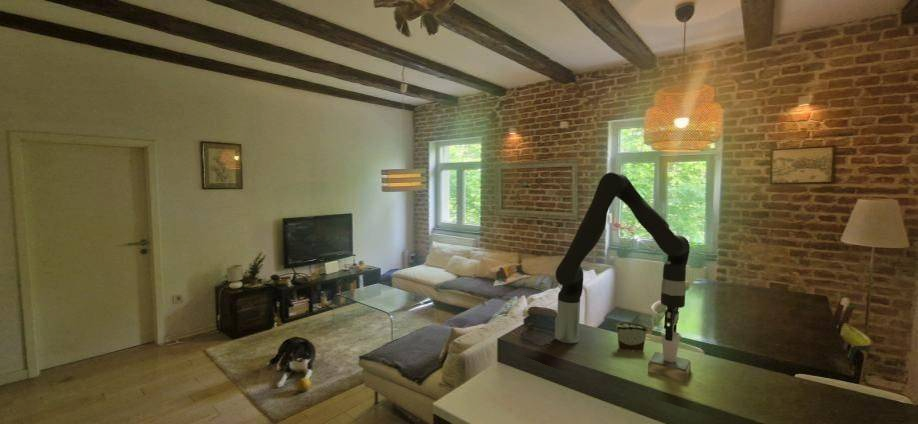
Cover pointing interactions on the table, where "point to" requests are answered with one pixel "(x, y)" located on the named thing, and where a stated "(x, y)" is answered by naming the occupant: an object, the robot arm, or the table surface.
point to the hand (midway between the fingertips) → (670, 336)
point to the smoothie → (670, 346)
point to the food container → (631, 336)
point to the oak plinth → (670, 367)
